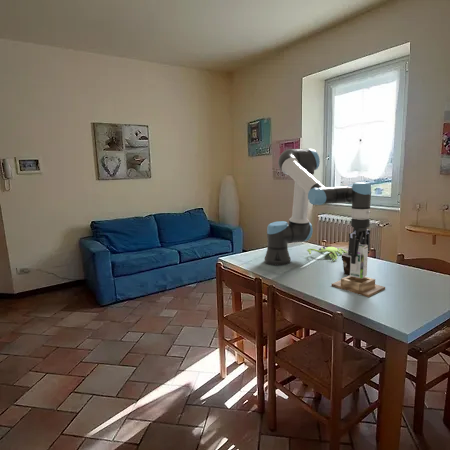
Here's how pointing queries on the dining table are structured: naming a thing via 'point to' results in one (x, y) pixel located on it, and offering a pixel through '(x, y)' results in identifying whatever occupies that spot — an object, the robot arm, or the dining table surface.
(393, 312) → the dining table surface
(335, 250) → the figurine
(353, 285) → the wooden socket base
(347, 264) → the coffee mug
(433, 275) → the dining table surface
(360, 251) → the syrup box
